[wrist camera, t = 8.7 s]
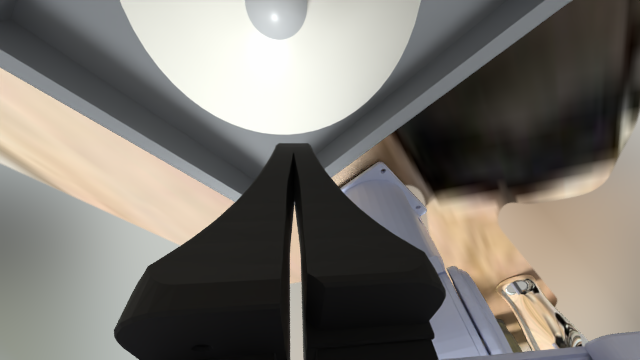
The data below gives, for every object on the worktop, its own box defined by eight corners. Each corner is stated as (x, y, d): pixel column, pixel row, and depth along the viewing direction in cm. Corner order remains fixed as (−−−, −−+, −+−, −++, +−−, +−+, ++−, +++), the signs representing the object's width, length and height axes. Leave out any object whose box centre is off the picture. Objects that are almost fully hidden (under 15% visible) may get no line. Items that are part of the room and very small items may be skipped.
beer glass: (511, 295, 45) (585, 404, 34) (483, 291, 43) (553, 406, 32) (545, 275, 41) (642, 392, 30) (517, 270, 39) (610, 393, 28)
